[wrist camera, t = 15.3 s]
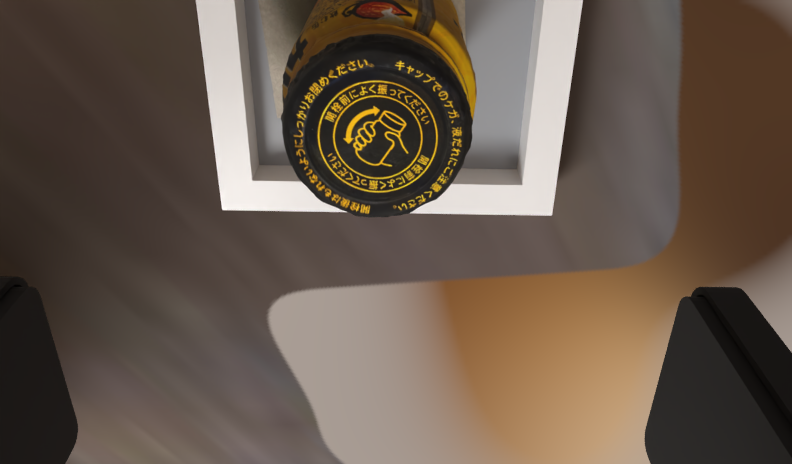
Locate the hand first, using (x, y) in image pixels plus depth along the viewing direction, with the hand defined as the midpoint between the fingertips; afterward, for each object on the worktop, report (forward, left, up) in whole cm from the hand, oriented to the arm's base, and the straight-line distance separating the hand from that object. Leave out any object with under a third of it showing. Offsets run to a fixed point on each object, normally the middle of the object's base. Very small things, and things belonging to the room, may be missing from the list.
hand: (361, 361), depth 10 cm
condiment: (0, +1, -22) cm, 22 cm away
